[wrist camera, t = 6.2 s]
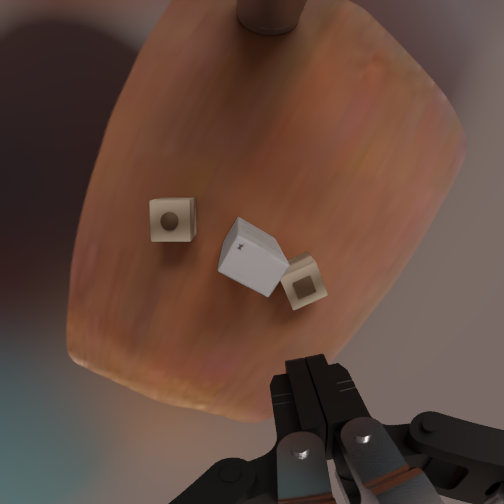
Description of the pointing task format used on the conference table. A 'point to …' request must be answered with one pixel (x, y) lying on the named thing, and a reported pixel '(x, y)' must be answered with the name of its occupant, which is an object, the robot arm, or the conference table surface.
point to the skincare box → (252, 258)
